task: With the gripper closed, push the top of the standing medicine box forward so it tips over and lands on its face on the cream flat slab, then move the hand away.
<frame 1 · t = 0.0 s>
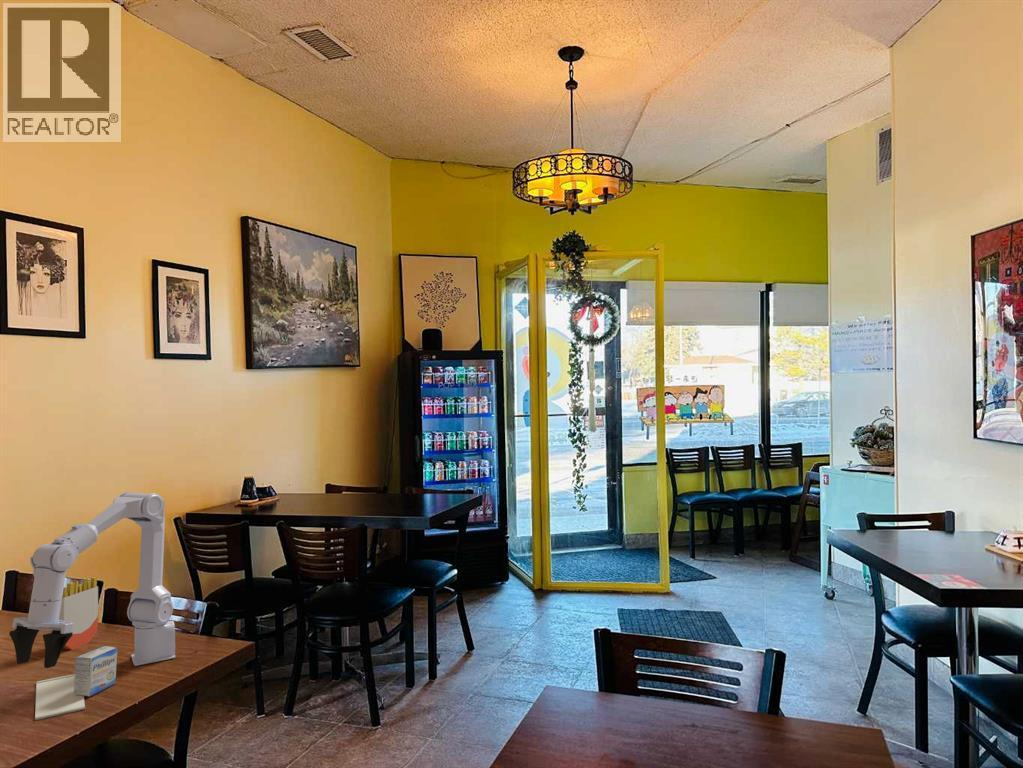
hand: (36, 665, 146), 11 cm above the table, tool pointing down, fingers open, 7 cm apart
cream flat slab: (59, 695, 155), on the table
french fries container: (74, 645, 186), on the table
medicine box: (94, 690, 158), on the table, touching cream flat slab
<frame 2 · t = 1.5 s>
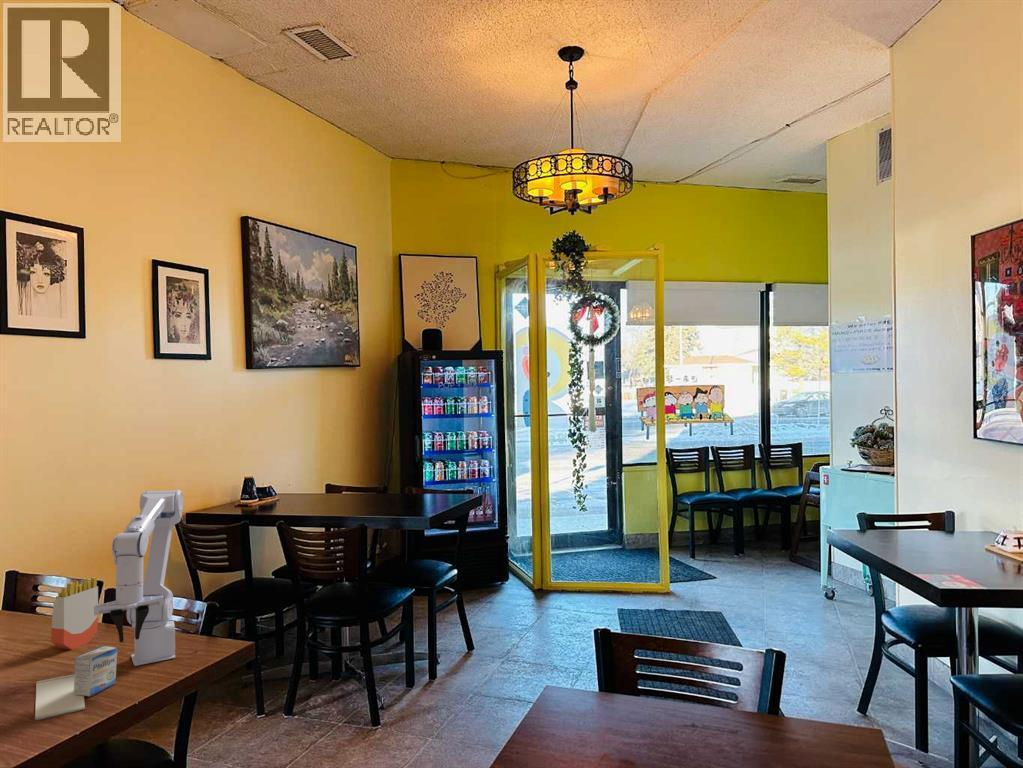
hand: (129, 639, 162), 10 cm above the table, tool pointing down, fingers open, 3 cm apart
nothing on the table moved.
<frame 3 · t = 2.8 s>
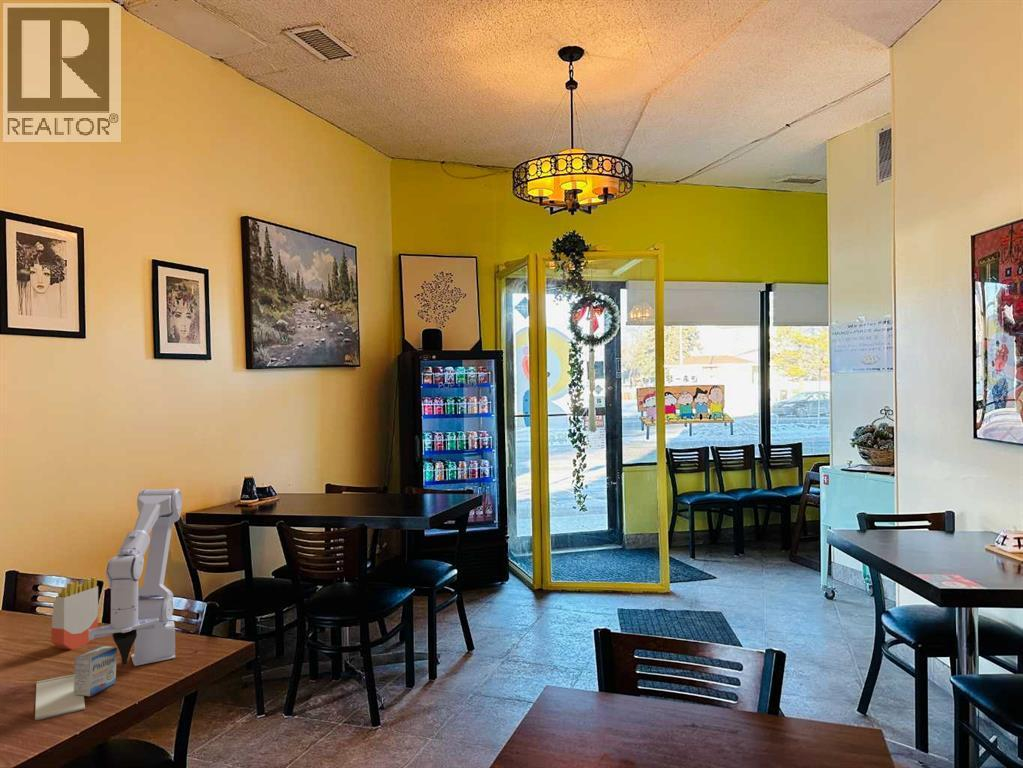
hand: (124, 663, 161), 5 cm above the table, tool pointing down, fingers closed
medicine box: (94, 690, 158), on the table, touching cream flat slab, gripper
everything else where it was.
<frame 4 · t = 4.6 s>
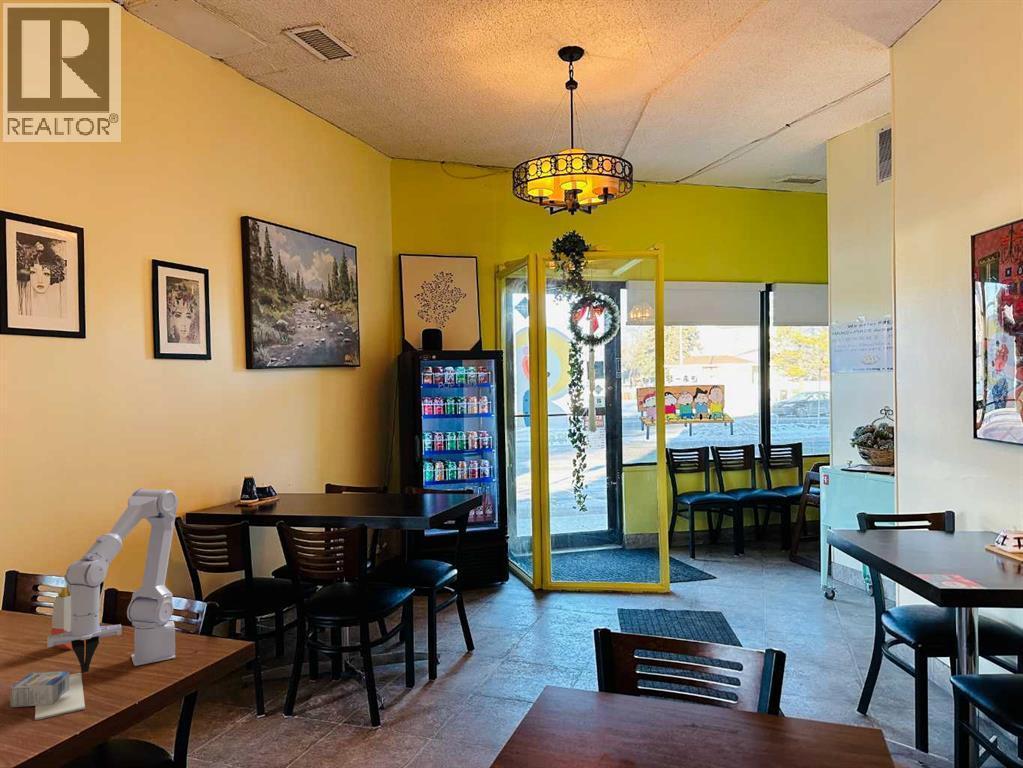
hand: (84, 671, 157), 5 cm above the table, tool pointing down, fingers closed
medicine box: (62, 687, 154), point 2 cm above the table, touching cream flat slab
everything else where it was.
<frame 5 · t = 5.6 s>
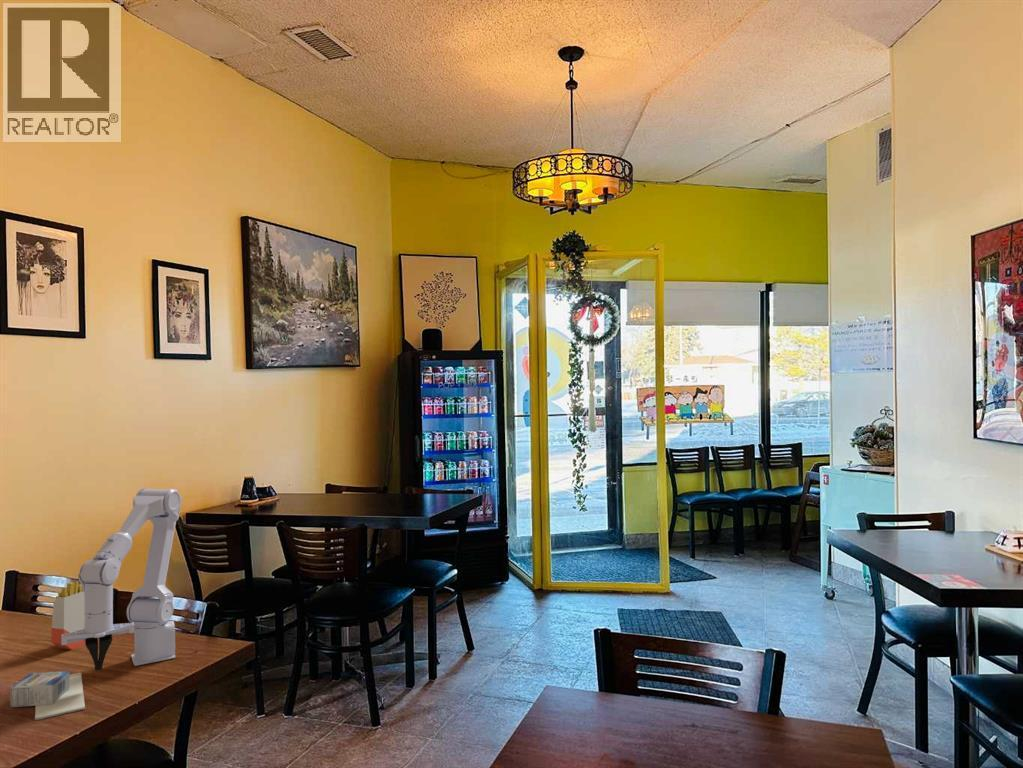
hand: (98, 668, 159), 5 cm above the table, tool pointing down, fingers closed
nothing on the table moved.
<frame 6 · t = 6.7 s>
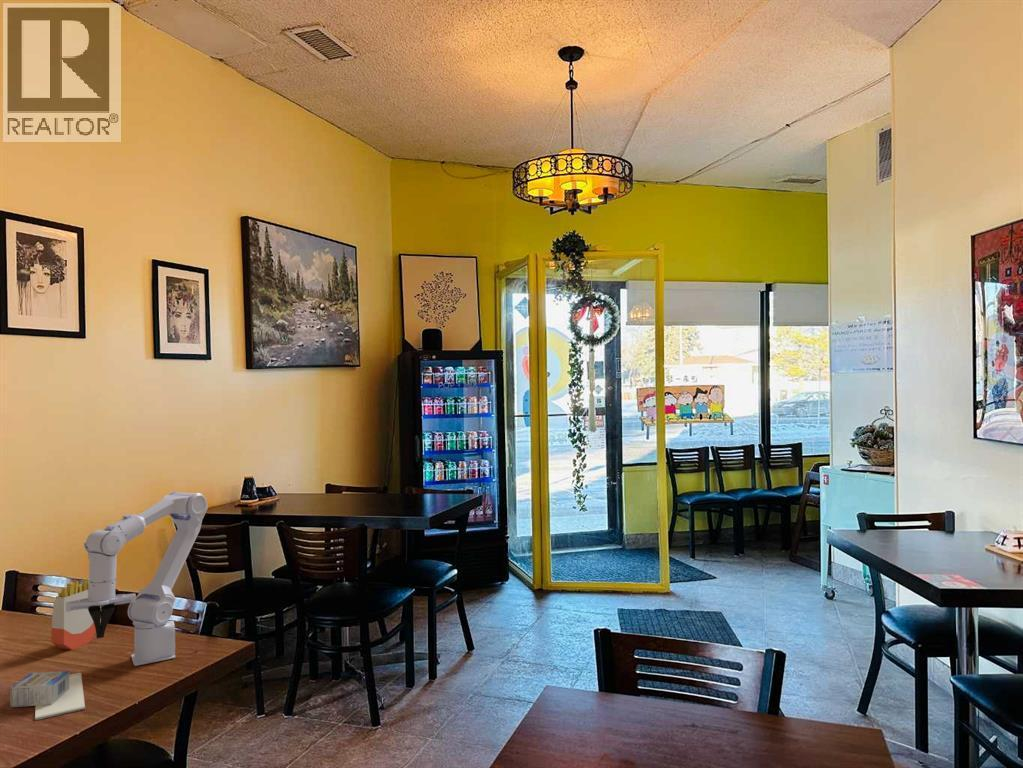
hand: (99, 636, 164), 10 cm above the table, tool pointing down, fingers closed
nothing on the table moved.
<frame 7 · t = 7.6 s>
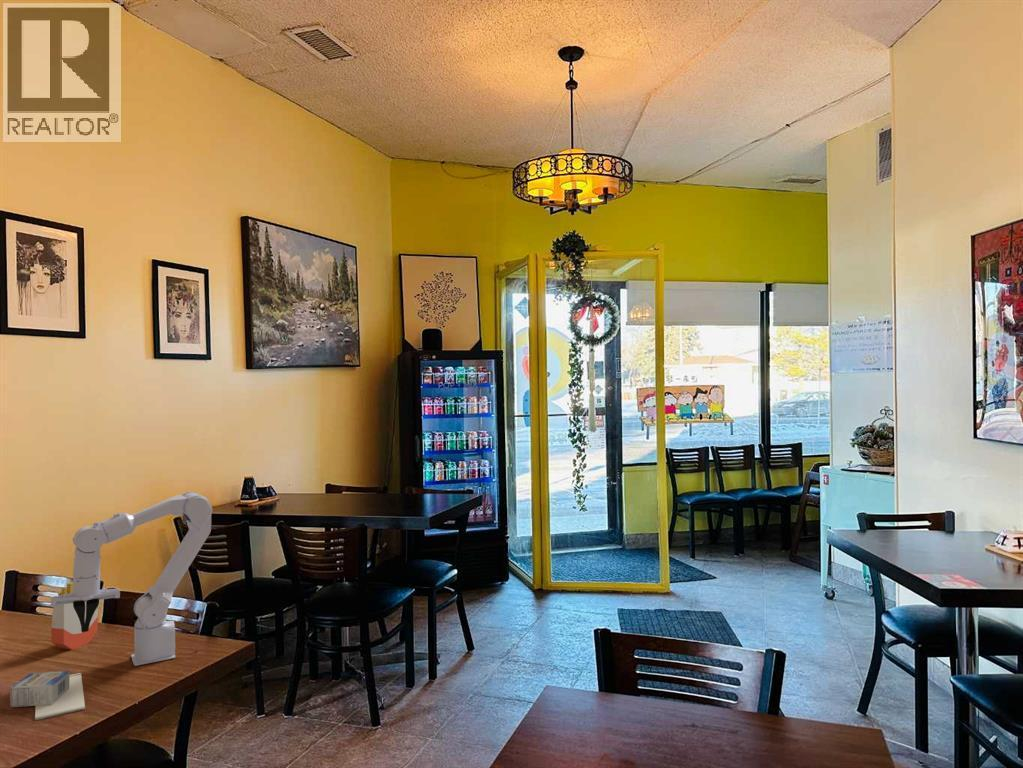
hand: (84, 630, 168), 10 cm above the table, tool pointing down, fingers closed
nothing on the table moved.
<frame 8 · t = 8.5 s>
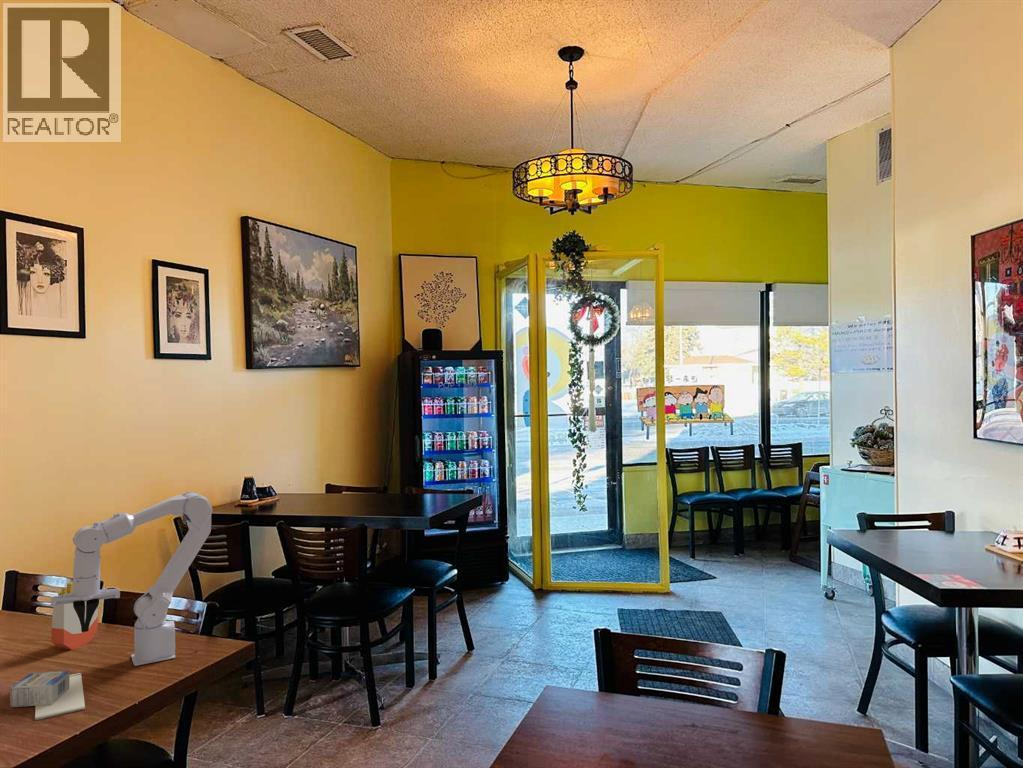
hand: (84, 630, 168), 10 cm above the table, tool pointing down, fingers closed
nothing on the table moved.
at the end: medicine box tilted 89°; medicine box inside the target area (1.1 cm from its centre), point 2.4 cm above the table; medicine box touching cream flat slab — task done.
